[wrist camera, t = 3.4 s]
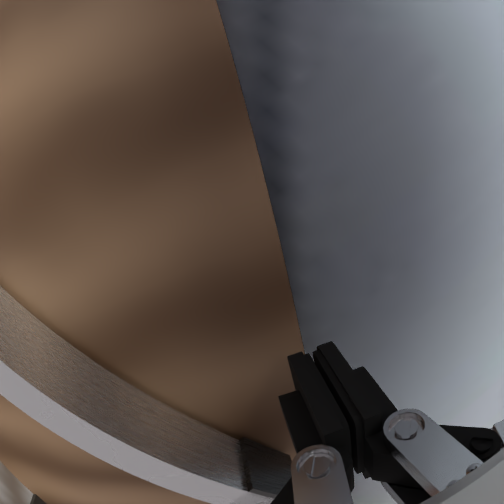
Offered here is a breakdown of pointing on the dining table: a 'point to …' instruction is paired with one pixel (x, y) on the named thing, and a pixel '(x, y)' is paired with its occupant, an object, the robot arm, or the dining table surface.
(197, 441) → the bar
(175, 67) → the tong board
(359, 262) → the dining table surface
